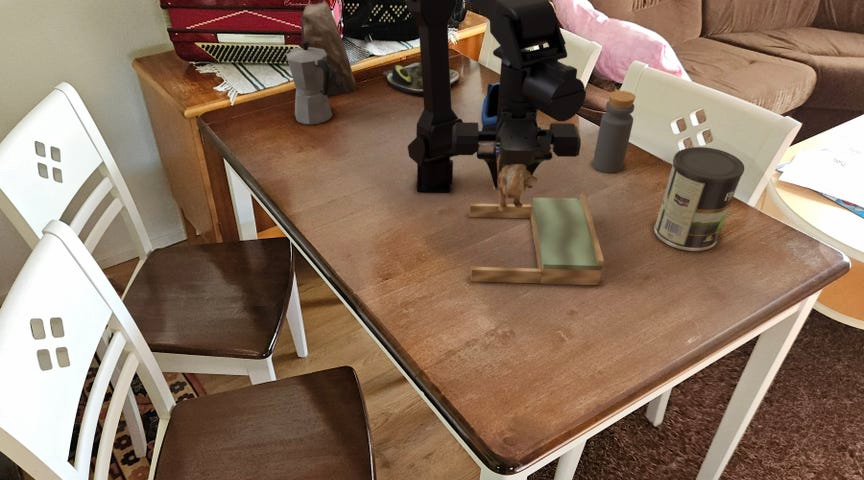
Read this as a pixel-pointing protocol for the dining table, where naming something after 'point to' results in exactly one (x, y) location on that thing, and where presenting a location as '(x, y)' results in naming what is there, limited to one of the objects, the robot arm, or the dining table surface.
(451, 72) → the salad plate
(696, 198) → the coffee can
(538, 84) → the robot arm
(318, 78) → the coffeepot
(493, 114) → the shoe
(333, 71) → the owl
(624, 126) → the bottle
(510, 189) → the lion figurine
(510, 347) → the dining table surface
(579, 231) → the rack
